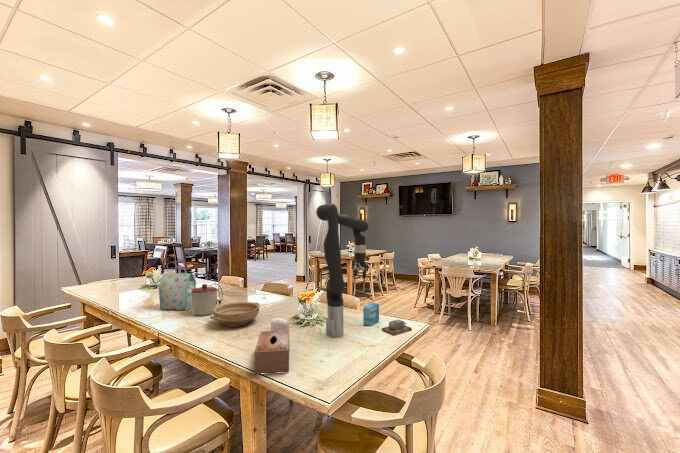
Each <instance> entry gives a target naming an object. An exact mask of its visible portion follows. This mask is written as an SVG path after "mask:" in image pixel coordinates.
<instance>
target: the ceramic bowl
mask: <svg viewBox="0 0 680 453" xmlns="http://www.w3.org/2000/svg"><path fill="white" fill-rule="evenodd" d="M260 308H261V307H260V303H259V302H250V301H235V302H230V303H229V302H228V303H223V304H220V305H218V306H216V307H215V308H214V309H213V313H212V314H213V315H211V316H210V320H213V321H214V320H215V321H218V322H219V323H222V324H225V325H226V326H227V327H238V326H239V327H240V325H241V326H243V325H244V326H245V325H246V324H248V322H249V321H251V320H253V319H256V317H257V316H258V315H259V312H260Z"/></svg>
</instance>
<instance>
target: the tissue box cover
mask: <svg viewBox="0 0 680 453" xmlns="http://www.w3.org/2000/svg"><path fill="white" fill-rule="evenodd" d="M253 356H254V361H253V362H254V366H253V367H254V370H253V371H254V375H255V374H261V373H276V372H289V373H290V329H289V330H276V331H271V330H261V331H259V335H258V338H257V341H256V345H255V350H254V354H253ZM276 374H277V373H276Z"/></svg>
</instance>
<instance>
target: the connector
mask: <svg viewBox="0 0 680 453" xmlns="http://www.w3.org/2000/svg"><path fill="white" fill-rule="evenodd" d="M404 325H405V326H407V321H404V320H401V319H395V320H391V321H388V326H389V330H392V331H395V330H398V329H402V328H404Z"/></svg>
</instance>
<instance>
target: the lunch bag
mask: <svg viewBox="0 0 680 453" xmlns="http://www.w3.org/2000/svg"><path fill="white" fill-rule="evenodd" d="M196 288H197V282H196V279H195V275H193V273H188V272H184V273H183V272H182V273H181V272H180V273H179V272H178V273H177V272H175V273H174V272H173V273H171V272H169V273H163V274H161V278H160V280H159V284H158V295H159V298H158V300H159V310H172V311H173V310H175V311H185V310H187V311H189V310H190V309H191V308H193V302H192V293H190V292H191V291H192V290H193V289H196ZM188 309H189V310H188Z"/></svg>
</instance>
